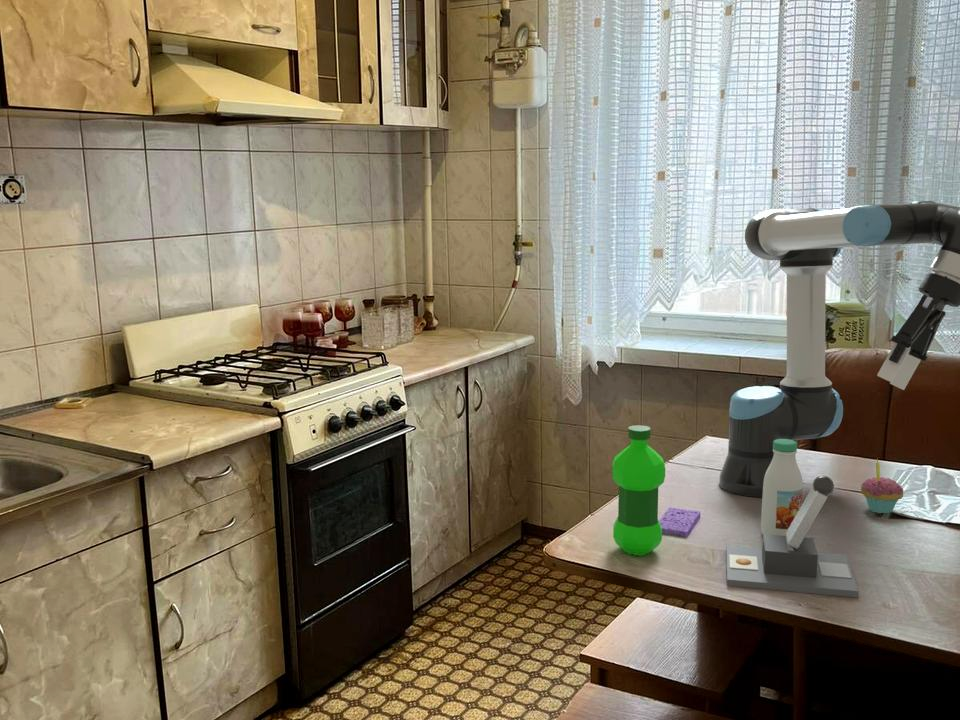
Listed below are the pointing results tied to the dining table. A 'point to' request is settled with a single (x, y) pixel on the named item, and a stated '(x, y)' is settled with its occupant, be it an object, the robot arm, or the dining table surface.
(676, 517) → the sponges
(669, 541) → the dining table surface
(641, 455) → the plastic bottle
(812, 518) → the toggle lever
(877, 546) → the dining table surface
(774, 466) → the milk bottle
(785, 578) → the switch board
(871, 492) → the cupcake
